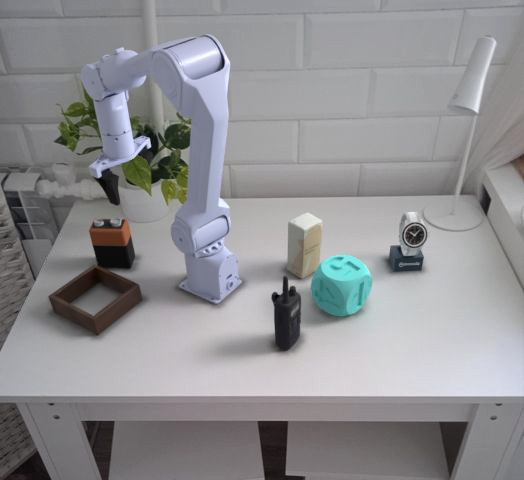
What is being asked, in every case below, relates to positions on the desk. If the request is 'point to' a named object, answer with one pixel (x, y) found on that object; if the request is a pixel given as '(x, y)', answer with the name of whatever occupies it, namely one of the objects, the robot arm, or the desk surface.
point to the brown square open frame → (84, 283)
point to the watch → (409, 244)
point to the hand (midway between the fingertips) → (128, 194)
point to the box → (304, 244)
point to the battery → (112, 243)
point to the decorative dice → (341, 285)
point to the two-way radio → (287, 316)
